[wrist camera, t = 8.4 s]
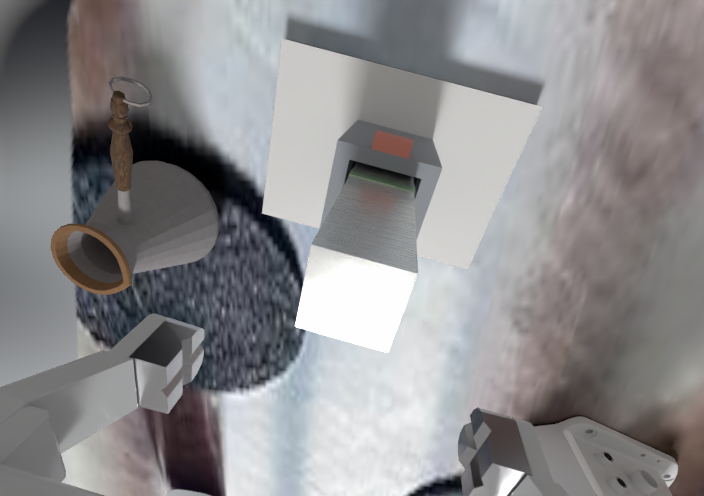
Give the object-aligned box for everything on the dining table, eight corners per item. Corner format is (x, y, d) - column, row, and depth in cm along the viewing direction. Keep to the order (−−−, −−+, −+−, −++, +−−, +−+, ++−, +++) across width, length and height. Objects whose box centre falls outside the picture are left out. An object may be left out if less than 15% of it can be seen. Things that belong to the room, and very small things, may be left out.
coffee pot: (207, 268, 43) (116, 358, 29) (120, 214, 41) (-17, 284, 28) (291, 116, 33) (212, 149, 20) (182, 38, 31) (16, 15, 18)
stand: (536, 105, 30) (603, 124, 19) (465, 262, 37) (486, 334, 27) (287, 39, 30) (225, 25, 20) (267, 208, 38) (215, 259, 27)
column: (413, 164, 27) (419, 273, 13) (398, 213, 29) (388, 353, 14) (362, 151, 27) (310, 242, 13) (350, 200, 29) (293, 327, 15)
